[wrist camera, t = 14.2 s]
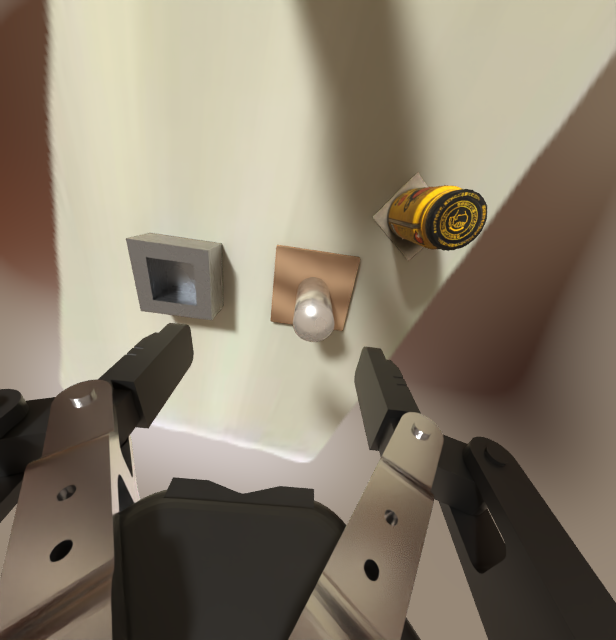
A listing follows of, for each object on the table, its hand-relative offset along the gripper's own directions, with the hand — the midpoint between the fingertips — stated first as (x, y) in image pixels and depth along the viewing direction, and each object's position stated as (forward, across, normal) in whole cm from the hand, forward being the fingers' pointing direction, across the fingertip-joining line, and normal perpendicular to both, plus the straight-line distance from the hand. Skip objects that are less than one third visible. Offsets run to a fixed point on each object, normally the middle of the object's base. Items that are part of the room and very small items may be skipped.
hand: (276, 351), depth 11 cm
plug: (+24, -3, +7) cm, 26 cm away
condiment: (+26, -15, -5) cm, 31 cm away
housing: (+26, +16, +7) cm, 31 cm away
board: (+26, -3, +7) cm, 27 cm away
